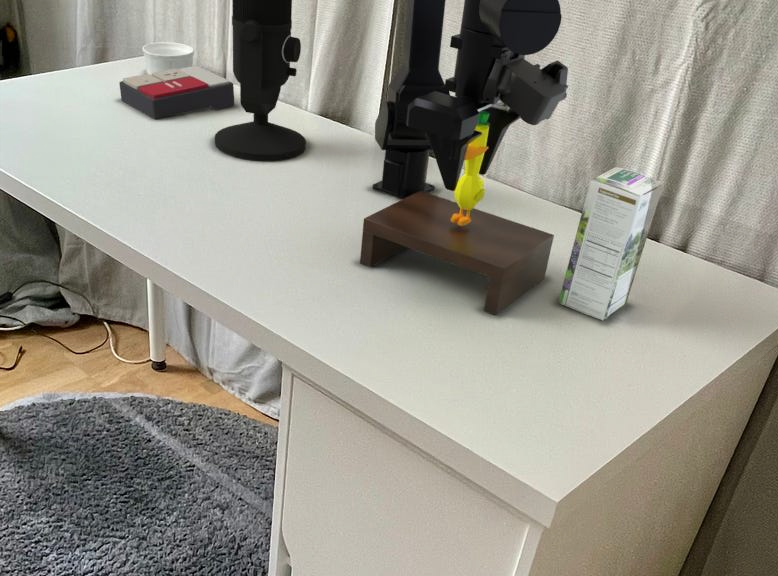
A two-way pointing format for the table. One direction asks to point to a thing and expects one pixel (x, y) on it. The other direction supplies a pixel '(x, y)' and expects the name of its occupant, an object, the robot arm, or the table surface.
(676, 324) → the table surface
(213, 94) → the grey and red case
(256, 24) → the microphone
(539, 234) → the shelf
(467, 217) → the toy figure
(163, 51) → the ramekin
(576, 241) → the syrup box
